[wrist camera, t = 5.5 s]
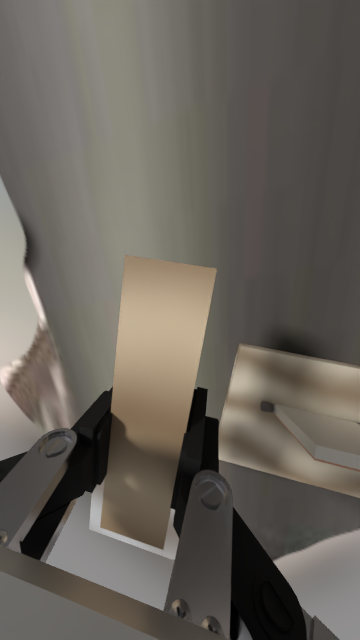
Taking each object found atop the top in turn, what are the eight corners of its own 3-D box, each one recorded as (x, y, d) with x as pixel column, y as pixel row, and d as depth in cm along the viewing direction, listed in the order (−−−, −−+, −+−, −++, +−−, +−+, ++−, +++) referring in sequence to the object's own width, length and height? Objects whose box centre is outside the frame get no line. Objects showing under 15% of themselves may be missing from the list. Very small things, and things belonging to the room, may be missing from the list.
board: (239, 342, 24) (241, 350, 22) (423, 377, 22) (445, 390, 20) (213, 451, 30) (212, 465, 27) (358, 490, 27) (370, 509, 25)
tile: (316, 445, 15) (313, 460, 15) (451, 478, 14) (449, 495, 14) (274, 403, 24) (273, 413, 24) (354, 422, 23) (353, 432, 23)
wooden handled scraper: (114, 258, 11) (57, 244, 7) (267, 282, 10) (303, 281, 6) (93, 520, 15) (49, 606, 11) (198, 558, 14) (192, 669, 10)
